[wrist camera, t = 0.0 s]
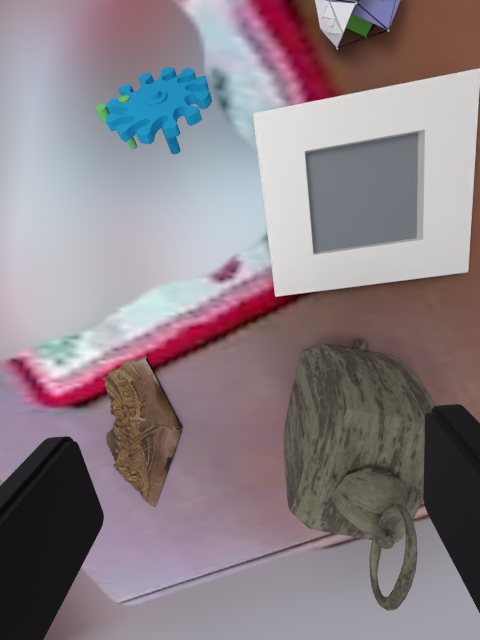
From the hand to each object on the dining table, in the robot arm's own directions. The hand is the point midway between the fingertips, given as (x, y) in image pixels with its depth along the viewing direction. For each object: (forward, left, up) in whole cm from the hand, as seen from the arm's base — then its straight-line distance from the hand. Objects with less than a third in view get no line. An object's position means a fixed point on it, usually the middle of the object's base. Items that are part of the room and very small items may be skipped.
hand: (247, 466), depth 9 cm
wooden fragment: (+22, -20, -32) cm, 43 cm away
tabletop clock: (+15, +6, -31) cm, 35 cm away
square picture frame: (-6, +11, -31) cm, 34 cm away
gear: (-17, -8, -32) cm, 37 cm away
